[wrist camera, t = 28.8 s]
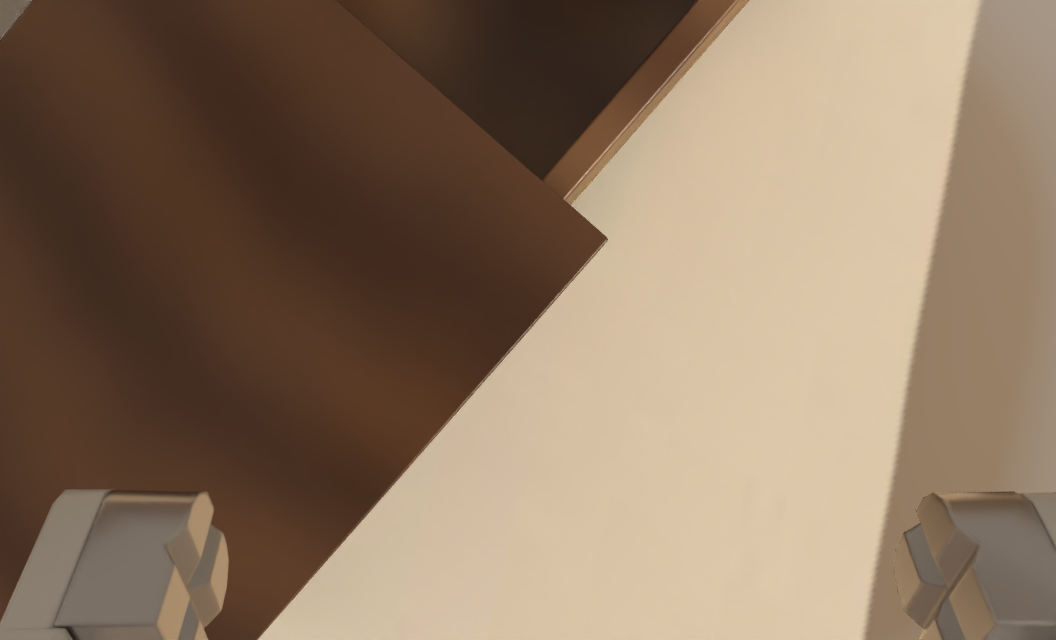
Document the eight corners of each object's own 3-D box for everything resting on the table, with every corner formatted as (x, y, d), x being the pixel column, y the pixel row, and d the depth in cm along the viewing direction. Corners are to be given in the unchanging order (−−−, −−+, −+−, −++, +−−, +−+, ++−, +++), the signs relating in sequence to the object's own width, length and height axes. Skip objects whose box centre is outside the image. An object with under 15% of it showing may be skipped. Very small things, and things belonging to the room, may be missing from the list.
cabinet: (274, -32, 30) (158, -158, 21) (592, 247, 30) (609, 238, 21) (-45, 353, 31) (-283, 388, 22) (265, 619, 31) (152, 759, 22)
